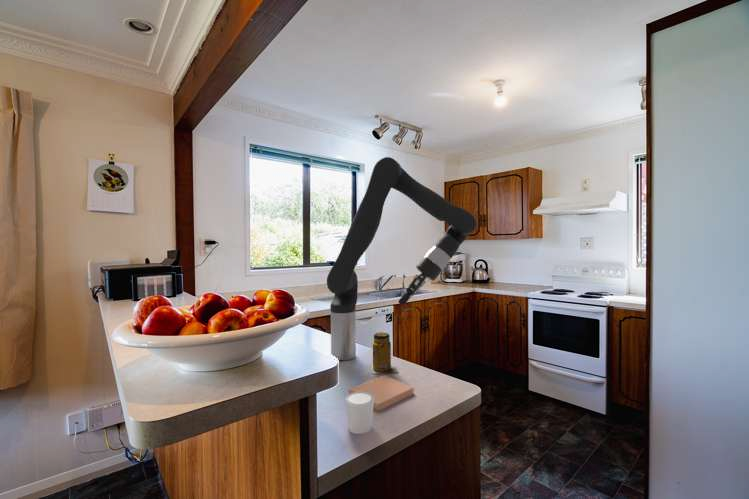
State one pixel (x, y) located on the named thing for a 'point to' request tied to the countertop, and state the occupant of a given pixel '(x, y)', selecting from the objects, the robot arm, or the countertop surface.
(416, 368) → the countertop surface
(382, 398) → the tile
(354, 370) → the countertop surface
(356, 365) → the countertop surface
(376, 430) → the countertop surface
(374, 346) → the condiment
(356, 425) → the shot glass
